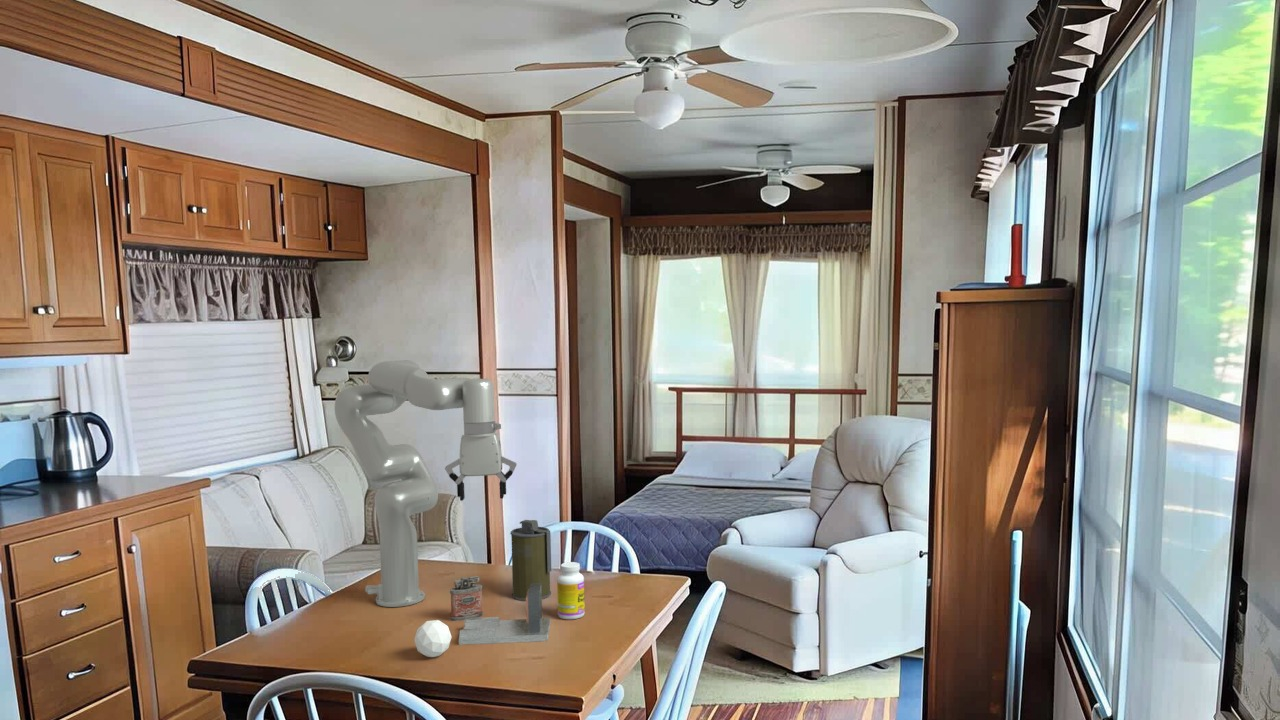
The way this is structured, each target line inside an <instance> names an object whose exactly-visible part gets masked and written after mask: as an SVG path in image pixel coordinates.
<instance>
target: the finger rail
mask: <svg viewBox="0 0 1280 720" xmlns="http://www.w3.org/2000/svg"><path fill="white" fill-rule="evenodd" d="M542 600H543V599H542V591H541V583H536V584H531V585H530V589H528V591H527V595H526V601H525V612H526V613H525V614H526V615H525V616H526V618H522V619H500V617H499V616H491V617H489V616H488V617H478V618H465V620H464V626H463V628H462V629H461V628H460V629H459V631H458V632H459V637H458V645H459V646H461V645H463V646H464V645H482V644H483V645H485V644H486V645H488V644H507V643H508V644H509V643H510V644H511V643H512V644H513V643H532V642H548V640H549V633H550V627H551V618H550V617H546V618H545V617H544V618H543V601H542Z"/></svg>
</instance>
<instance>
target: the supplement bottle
mask: <svg viewBox="0 0 1280 720" xmlns="http://www.w3.org/2000/svg"><path fill="white" fill-rule="evenodd" d="M580 569H581V565H580V563H579V562H576V561H575V562H574V561H570V562H564V563H561V565H560V571H561V573H560V574H559V575H558V576H557V580H556V583H557V584H556V585H557V586H556V587H557V588H556V589H557V615H558V616H557V617H559V618H560V619H562V620H570V621H571V620H577V619H581V618H582V617H584V616H585V613H586V612H585V611H586V609H585V607H586V605H585V604H586V603H585V577H584V575H583V574H582V573H580Z"/></svg>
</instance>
